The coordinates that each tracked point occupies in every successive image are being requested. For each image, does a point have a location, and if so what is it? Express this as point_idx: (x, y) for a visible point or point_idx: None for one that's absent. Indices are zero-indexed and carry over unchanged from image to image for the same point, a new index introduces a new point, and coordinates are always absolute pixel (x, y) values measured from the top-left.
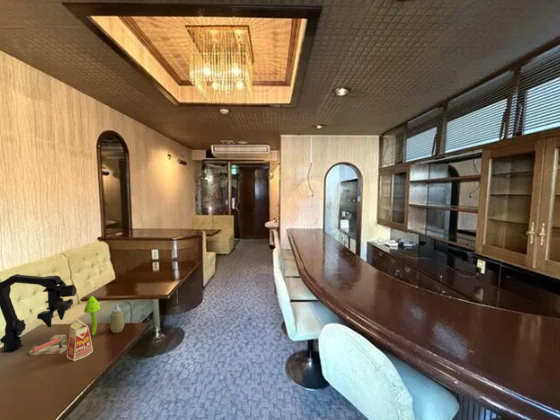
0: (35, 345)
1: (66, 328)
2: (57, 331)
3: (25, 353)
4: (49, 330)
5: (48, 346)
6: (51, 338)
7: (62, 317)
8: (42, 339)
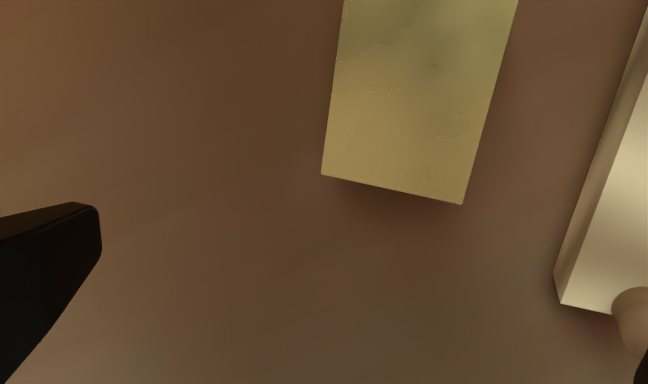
0: (631, 328)
1: (11, 170)
2: None
3: (596, 362)
4: (64, 330)
5: (645, 132)
6: (449, 187)
7: (30, 234)
8: (261, 319)
